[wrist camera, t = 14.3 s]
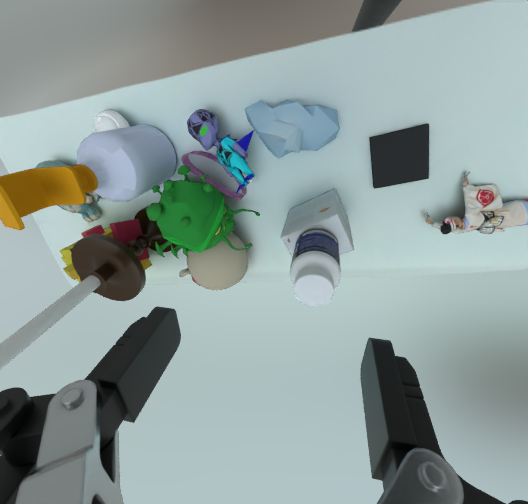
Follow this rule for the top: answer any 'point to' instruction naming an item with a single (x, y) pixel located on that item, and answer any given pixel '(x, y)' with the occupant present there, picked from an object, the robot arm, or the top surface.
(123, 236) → the toy
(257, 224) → the top surface
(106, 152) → the soap bottle
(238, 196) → the headband
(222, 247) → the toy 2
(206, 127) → the figurine
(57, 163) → the stuffed animal
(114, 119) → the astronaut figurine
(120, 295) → the candlestick
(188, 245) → the figurine
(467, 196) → the figurine
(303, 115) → the polygonal blue rock
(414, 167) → the pad
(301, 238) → the pill bottle
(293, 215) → the small box
